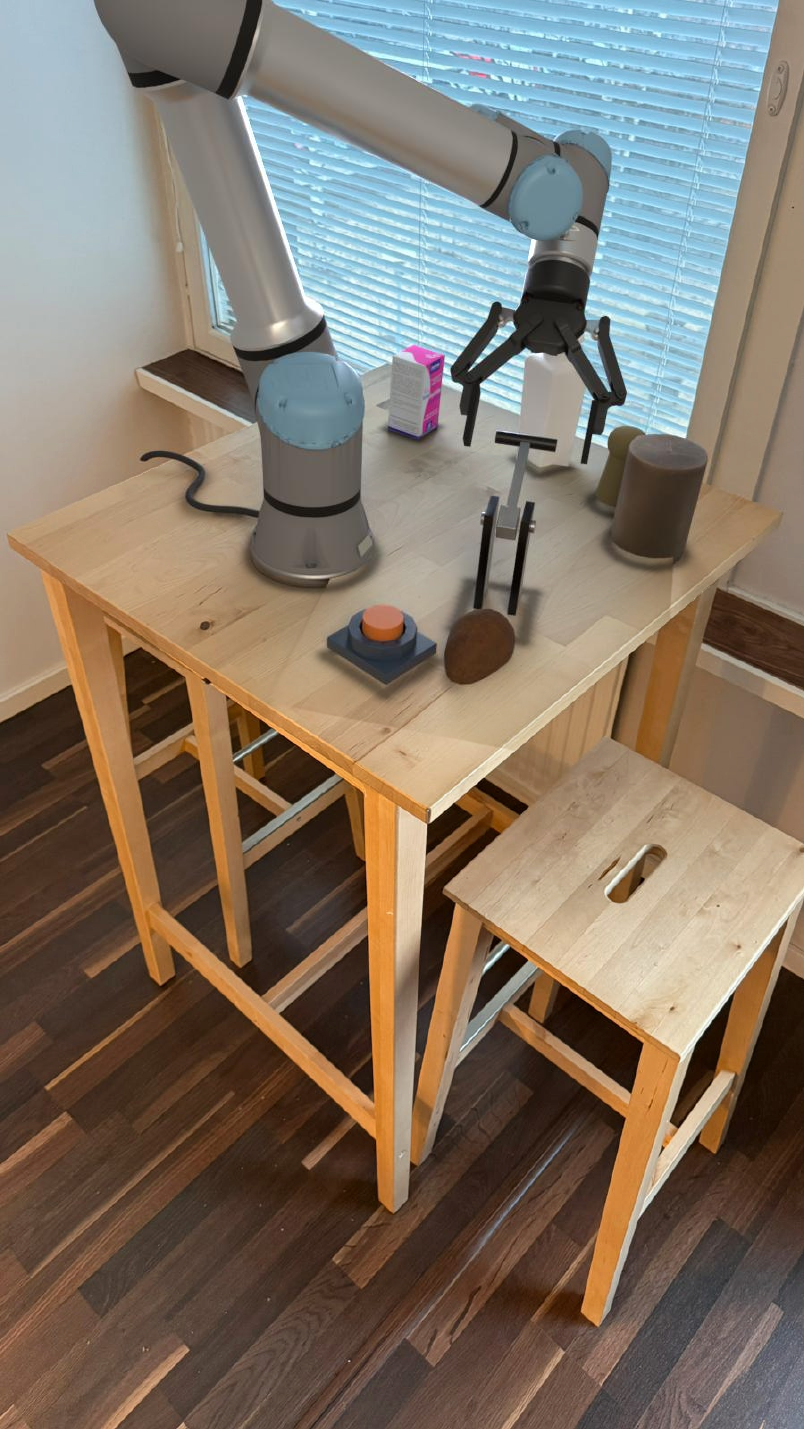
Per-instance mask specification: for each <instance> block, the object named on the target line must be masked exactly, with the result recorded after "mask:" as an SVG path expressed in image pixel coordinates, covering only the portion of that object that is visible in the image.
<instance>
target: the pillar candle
mask: <svg viewBox="0 0 804 1429" xmlns="http://www.w3.org/2000/svg"><path fill="white" fill-rule="evenodd" d="M708 461H709V454H708V452H707V450H706V449H705V448H704V447H703V446H702V445H701V444H700V443H699V442H696V441H694V440H692V439H690V438H687V437H682V436H678V435H676V434H675V435H673V434H668V433H650V434H646V435H642V436H641V435H640V436H637V437H636V439H634V440H633V441H632V442H631V443H630V445H629V449H628V454H627V459H626V464H625V469H624V473H623V478H622V482H621V487H620V491H619V496H618V501H617V505H616V506H615V509H614V515H613V520H612V523H611V527H610V528H611V529H610V534H609V535H610V539H611V541H612V543H613V544H615V546H617V547H618V548H620V549H621V550H623V551H625V552H627V553H628V554H631V555H635V556H637V557H642V558H647V559H670V558H672V564H676V563H678V562H679V561H680V560H681V559H682V558H683V555H684V553H685V550H686V545H687V541H688V538H689V534H690V530H691V528H692V527H691V526H692V522H693V519H694V515H695V511H696V509H697V508H696V507H697V504H698V500H699V495H700V492H701V488H702V485H703V480H704V476H705V473H706V469H707V465H708Z"/></svg>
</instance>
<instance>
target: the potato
mask: <svg viewBox="0 0 804 1429" xmlns="http://www.w3.org/2000/svg"><path fill="white" fill-rule="evenodd" d="M515 645H516V634H515V628H514V627H513V625H512V623H511V622H510V620H509V618H507V617H506V616H505V615H503V613H501V612H500V611H498V610H494V609H491V608H482V609H474V610H471V611H469V612H467V613H464V614H463V615H462V616H460V617H459V618H458V619H457V620H456V621H455V622H454V623H453V624H452V626H451V629H450V631H449V634H448V637H447V640H446V643H445V647H444V652H443V661H444V668H445V673H446V675H447V677H448V678H449V680H451V682H452V683H455V684H458V685H459V686H463V685H474V684H475V683H477V682H480V681H482V680H484V679H486V678H488V677H489V676H491V675H492V674H494V673H495V672H497V671H499V670H500V669H501V668H503V666H505V665H506V664H508V663H509V661H510V660H511V658H512V656H513V655H514V651H515Z"/></svg>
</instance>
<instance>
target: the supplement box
mask: <svg viewBox="0 0 804 1429" xmlns="http://www.w3.org/2000/svg"><path fill="white" fill-rule="evenodd" d="M445 357H446V356H445V354H442V353H440V352H436V351H433V350H430V349H427V348H425V347H421V346H419V345H416V344H413V345H410V346H409V347H407V348H404V349H403V350H401V351H399V352H398V353H396V354H394V355H393V356H392V359H391V360H392V363H391V376H390V388H389V389H390V392H389V402H388V404H389V405H388V417H387V428H386V429H387V430H389V431H392V432H394V433H397V434H401V435H403V436H406V437H408V438H411V439H414V440H420V439H421V438H422V437H423V436H425V435H426V434H428V433H429V432H431V431H432V430H435V429H436V428H438V426H439V416H440V406H441V395H442V389H443V388H442V387H443V379H444V378H443V377H444V368H445Z"/></svg>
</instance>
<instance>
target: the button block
mask: <svg viewBox="0 0 804 1429" xmlns="http://www.w3.org/2000/svg"><path fill="white" fill-rule="evenodd" d="M366 609H367V608H363V609H362V610H361V611H359V612H357V613H355V614H354V615H352V616H351V618H350V619H349V622H348V624H347V625H346V626H344V627H343V628H340V629H339V630H337V631H335V632H334V633H332V634H330V635H328V636H327V637H326V648H328V649H329V650H330V651H331V652H334V653H335V654H337V655H338V656H340V657H341V658H343V659H344V660H345V661H347V662H349V663H350V664H352V665H354V666H355V667H357V668H358V669H359V670H361V671H362V672H364V673H365V674H368V675H369V676H370V677H372V678H374V679H375V680H377V681H378V682H380V683H382V684H383V685H385V686H387V685H389V684H391V683H392V682H394V681H395V680H397V679H398V678H400V677H402V676H403V675H404V674H406V673H407V672H409V671H411V670H412V669H413V668H415V667H417V666H418V665H420V664H422V663H423V662H425V661H426V660H428V659H429V658H431V657H433V656H435V655H436V654H437V647H438V643H437V642H435V641H434V640H432V639H430V638H429V637H427V636H425V635H424V634H422V633H420V631H418V626H417V624H416V622H415V620H414V618H413V617H412V616H411V615H409V614H408V613H406V612H404V611H403V610H401V609H399V610H400V611H401V612H402V614H403V617H404V620H403V632H402V635H401V636H400V637H399V638H397V639H396V640H390V641H383V642H382V641H376V640H371V639H370V638H368V637H366V636H365V635H364V633H363V631H362V616H363V613H364V611H365V610H366Z"/></svg>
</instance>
